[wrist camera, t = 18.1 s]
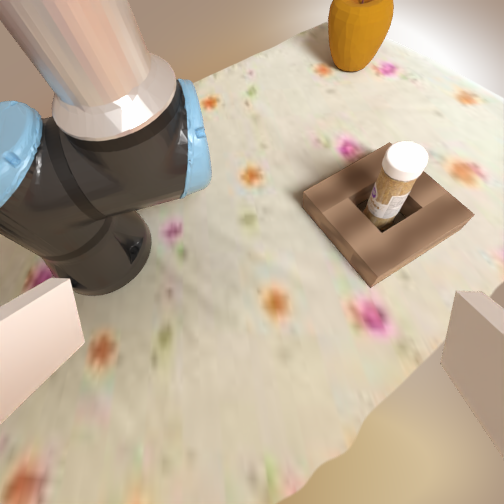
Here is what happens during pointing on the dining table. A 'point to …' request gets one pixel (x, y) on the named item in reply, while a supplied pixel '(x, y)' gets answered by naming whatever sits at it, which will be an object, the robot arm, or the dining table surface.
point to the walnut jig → (366, 233)
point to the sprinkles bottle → (395, 182)
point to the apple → (357, 31)
